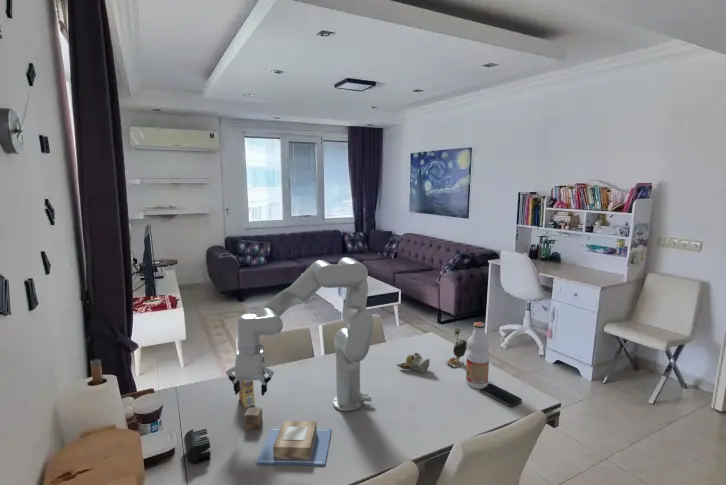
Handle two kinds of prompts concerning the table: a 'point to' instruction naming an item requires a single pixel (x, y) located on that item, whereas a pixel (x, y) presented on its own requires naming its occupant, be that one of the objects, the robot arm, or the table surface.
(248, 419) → the walnut block
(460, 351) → the plant with pod
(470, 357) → the fruit juice
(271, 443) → the blueprint board
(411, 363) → the ceramic sculpture
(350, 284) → the robot arm
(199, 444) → the end cap
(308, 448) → the oak base block
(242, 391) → the candy box
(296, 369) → the table surface
